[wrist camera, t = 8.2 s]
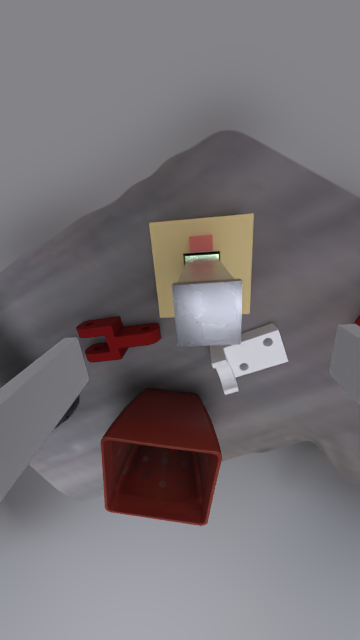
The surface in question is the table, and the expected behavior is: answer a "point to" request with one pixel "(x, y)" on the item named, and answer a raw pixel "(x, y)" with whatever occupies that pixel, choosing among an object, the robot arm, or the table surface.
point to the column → (207, 303)
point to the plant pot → (161, 458)
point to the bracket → (248, 355)
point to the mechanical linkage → (116, 337)
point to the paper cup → (358, 321)
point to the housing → (201, 236)
